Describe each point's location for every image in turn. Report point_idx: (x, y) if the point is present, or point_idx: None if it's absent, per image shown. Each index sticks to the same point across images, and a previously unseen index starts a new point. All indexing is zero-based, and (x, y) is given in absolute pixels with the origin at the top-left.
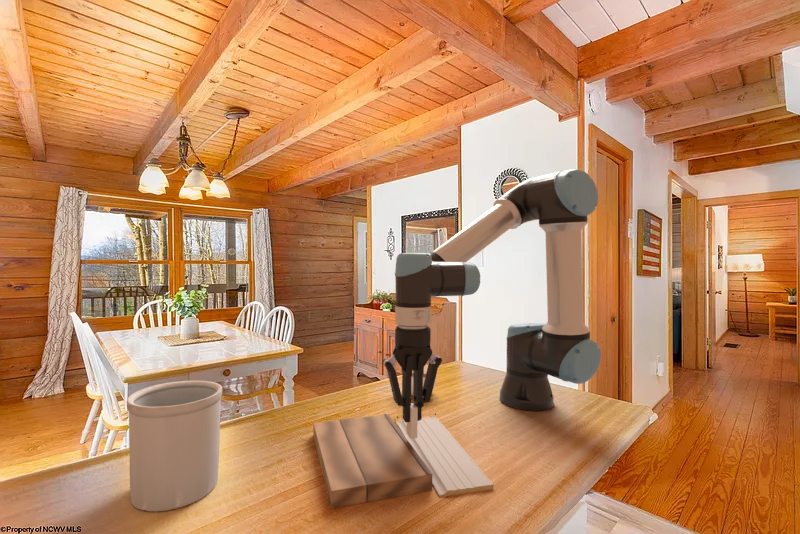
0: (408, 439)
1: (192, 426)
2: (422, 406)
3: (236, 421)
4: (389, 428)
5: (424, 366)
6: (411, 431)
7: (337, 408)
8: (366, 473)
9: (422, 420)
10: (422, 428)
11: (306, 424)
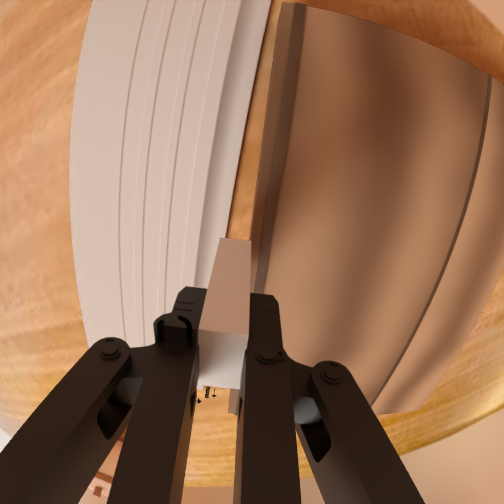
0: None
1: None
2: (166, 318)
3: (456, 430)
4: None
5: (88, 486)
6: (247, 255)
7: (301, 455)
8: (475, 126)
9: None
10: (145, 340)
11: (389, 422)
